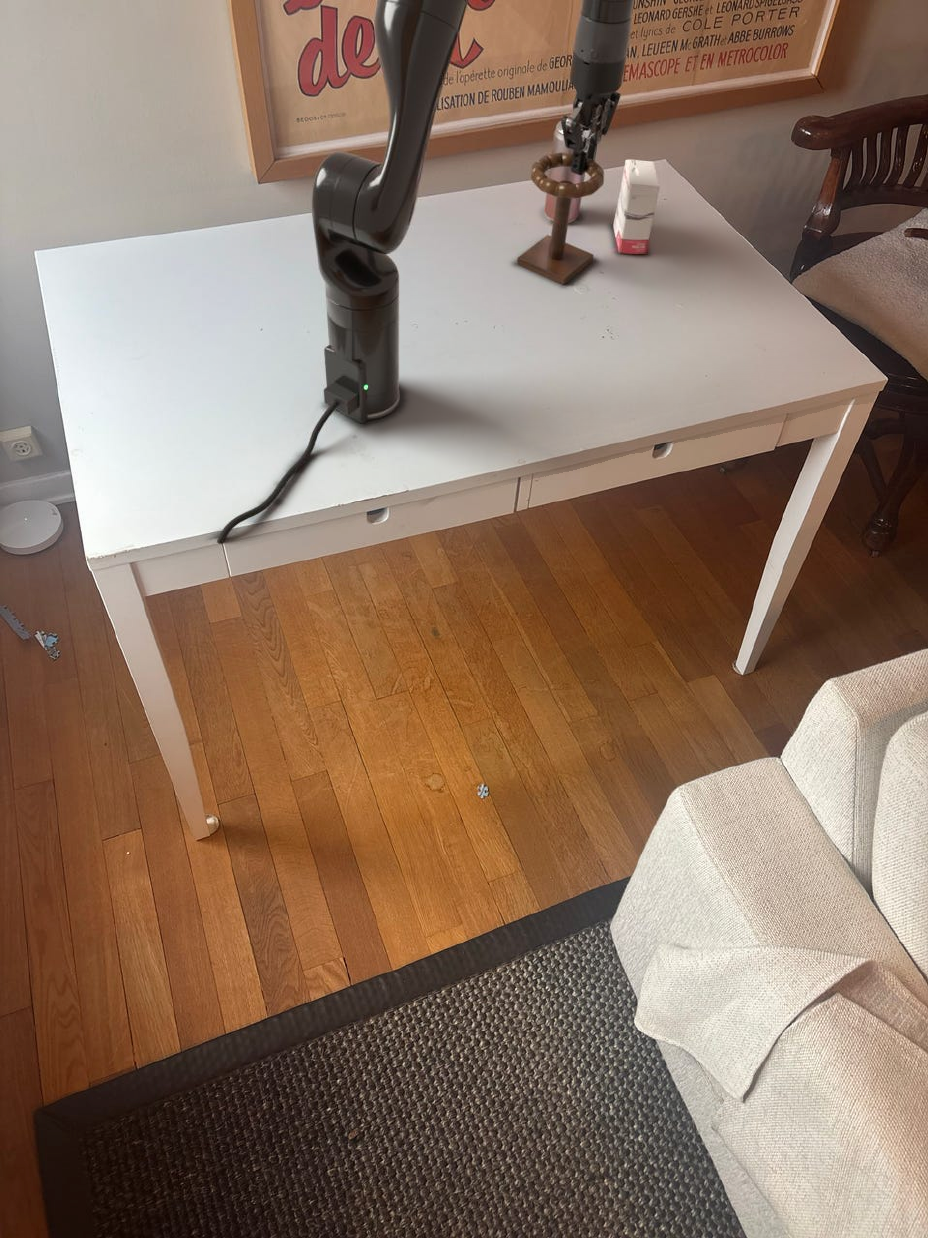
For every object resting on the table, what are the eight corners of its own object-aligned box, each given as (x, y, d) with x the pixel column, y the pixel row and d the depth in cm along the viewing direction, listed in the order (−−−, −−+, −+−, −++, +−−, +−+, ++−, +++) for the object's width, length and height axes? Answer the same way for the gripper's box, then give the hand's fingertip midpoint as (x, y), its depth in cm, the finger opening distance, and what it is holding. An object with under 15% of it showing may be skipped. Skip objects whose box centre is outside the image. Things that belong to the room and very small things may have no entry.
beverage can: (549, 203, 169) (561, 115, 157) (582, 210, 168) (596, 123, 156) (539, 219, 165) (550, 131, 153) (573, 227, 164) (586, 139, 152)
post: (563, 284, 153) (575, 206, 143) (516, 264, 156) (525, 185, 146) (592, 260, 158) (606, 183, 148) (546, 240, 161) (557, 163, 151)
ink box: (646, 255, 160) (661, 186, 151) (617, 253, 160) (630, 184, 151) (640, 227, 165) (654, 158, 156) (612, 225, 165) (624, 157, 156)
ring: (578, 208, 142) (580, 195, 140) (516, 183, 146) (517, 170, 144) (616, 178, 148) (618, 165, 146) (555, 155, 151) (557, 142, 150)
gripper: (602, 26, 140) (584, 145, 154) (551, 56, 133) (537, 178, 146) (647, 41, 138) (625, 161, 151) (598, 73, 130) (579, 195, 144)
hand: (581, 169), depth 149 cm, fingers closed on ring, 2 cm apart
